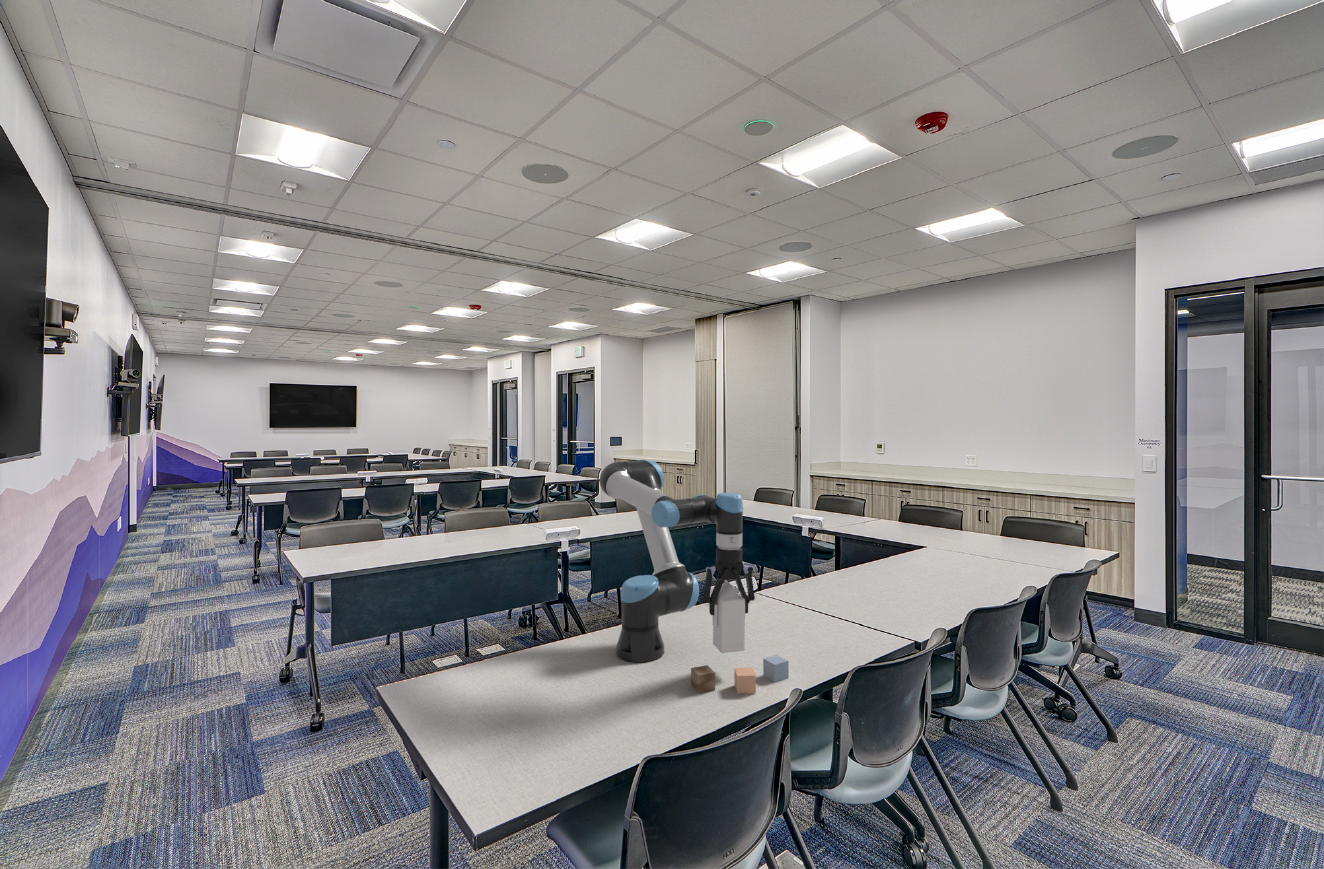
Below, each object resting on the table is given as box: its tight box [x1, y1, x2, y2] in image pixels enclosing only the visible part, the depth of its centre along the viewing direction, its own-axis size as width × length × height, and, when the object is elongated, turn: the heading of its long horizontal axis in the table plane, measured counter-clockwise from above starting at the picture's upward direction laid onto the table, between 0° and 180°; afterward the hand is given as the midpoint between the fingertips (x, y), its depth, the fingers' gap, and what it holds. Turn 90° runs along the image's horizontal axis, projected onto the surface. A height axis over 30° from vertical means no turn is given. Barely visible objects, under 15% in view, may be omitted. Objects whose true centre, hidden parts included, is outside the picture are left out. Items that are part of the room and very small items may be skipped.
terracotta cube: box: [733, 667, 757, 695], centre depth 157 cm, size 5×5×5 cm
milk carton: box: [712, 580, 746, 654], centre depth 167 cm, size 7×7×19 cm
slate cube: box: [762, 654, 790, 683], centre depth 164 cm, size 5×5×5 cm
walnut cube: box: [690, 664, 716, 694], centre depth 158 cm, size 5×5×5 cm
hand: (728, 624), depth 168 cm, fingers closed on milk carton, 7 cm apart
